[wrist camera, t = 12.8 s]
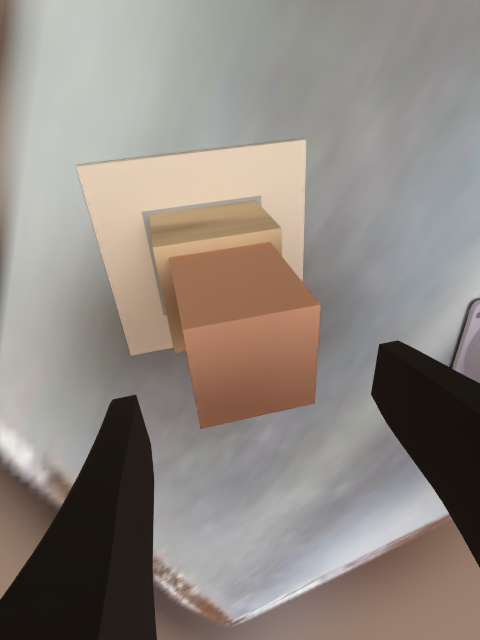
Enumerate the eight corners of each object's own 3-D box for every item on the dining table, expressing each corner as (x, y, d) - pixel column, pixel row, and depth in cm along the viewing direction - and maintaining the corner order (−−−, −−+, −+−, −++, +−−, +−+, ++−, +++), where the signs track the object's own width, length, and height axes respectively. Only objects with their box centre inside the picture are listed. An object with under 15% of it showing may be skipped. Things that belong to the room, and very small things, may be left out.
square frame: (299, 319, 23) (301, 323, 23) (131, 351, 22) (130, 356, 21) (302, 138, 18) (306, 139, 17) (77, 164, 16) (76, 166, 16)
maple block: (259, 291, 21) (282, 332, 18) (168, 307, 20) (174, 353, 17) (255, 200, 18) (281, 228, 15) (149, 214, 18) (152, 247, 14)
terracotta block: (272, 325, 17) (314, 403, 13) (184, 342, 17) (200, 428, 13) (270, 241, 15) (320, 304, 11) (168, 257, 15) (182, 329, 10)
